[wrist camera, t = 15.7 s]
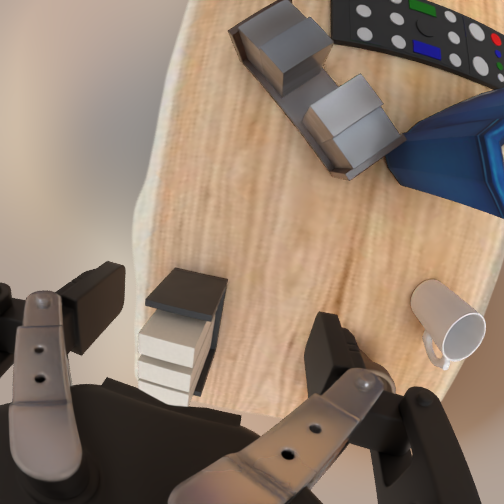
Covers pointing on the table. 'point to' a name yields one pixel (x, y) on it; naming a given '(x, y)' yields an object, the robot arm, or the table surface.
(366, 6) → the remote control
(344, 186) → the table surface
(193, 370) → the dark book holder
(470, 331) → the mug
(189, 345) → the white book
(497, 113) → the book
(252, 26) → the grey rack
